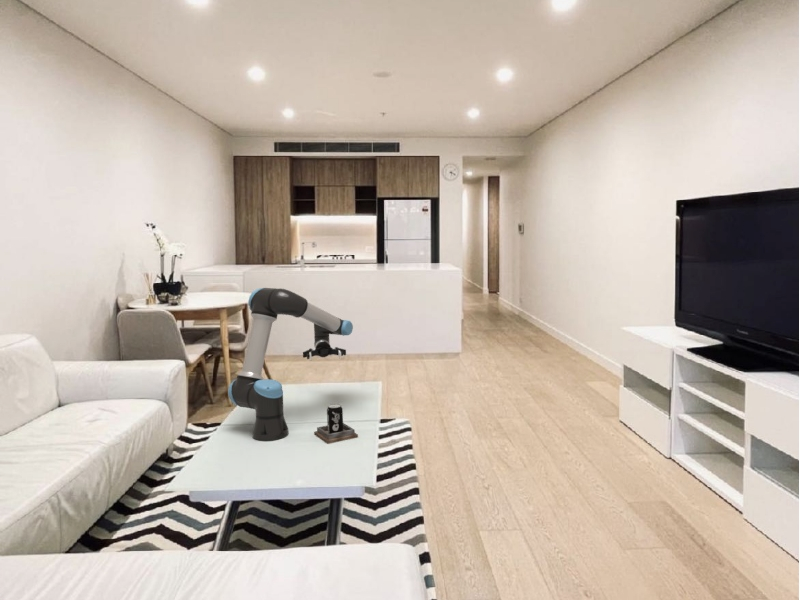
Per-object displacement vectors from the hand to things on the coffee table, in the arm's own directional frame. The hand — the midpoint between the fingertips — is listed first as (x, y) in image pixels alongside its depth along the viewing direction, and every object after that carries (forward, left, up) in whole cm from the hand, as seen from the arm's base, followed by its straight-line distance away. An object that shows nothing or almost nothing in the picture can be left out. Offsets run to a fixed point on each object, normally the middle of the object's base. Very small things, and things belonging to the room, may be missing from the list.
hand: (325, 356), depth 262 cm
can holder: (-6, -22, -30) cm, 38 cm away
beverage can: (-6, -22, -29) cm, 37 cm away
